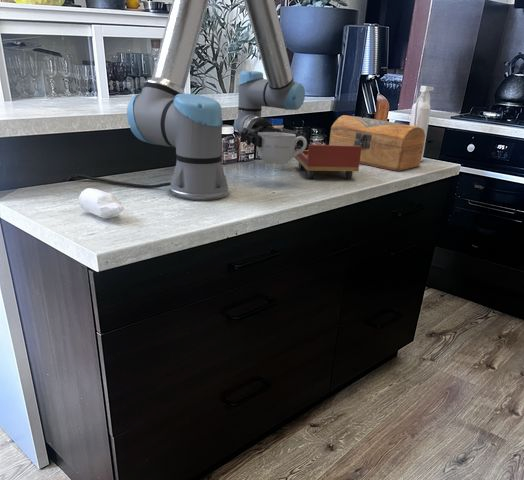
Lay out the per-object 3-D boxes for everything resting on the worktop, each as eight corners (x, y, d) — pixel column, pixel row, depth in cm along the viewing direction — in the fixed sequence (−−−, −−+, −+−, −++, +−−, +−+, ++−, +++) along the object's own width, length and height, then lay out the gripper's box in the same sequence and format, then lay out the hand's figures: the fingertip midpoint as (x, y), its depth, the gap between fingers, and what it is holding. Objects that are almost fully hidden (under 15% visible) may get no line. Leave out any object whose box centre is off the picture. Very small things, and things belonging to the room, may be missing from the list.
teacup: (250, 163, 147) (251, 132, 143) (265, 157, 156) (266, 128, 151) (296, 169, 142) (299, 138, 138) (309, 163, 151) (312, 133, 147)
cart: (306, 180, 158) (309, 145, 153) (293, 167, 174) (296, 134, 169) (356, 181, 161) (361, 146, 155) (339, 168, 177) (343, 135, 171)
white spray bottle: (395, 161, 192) (408, 85, 179) (410, 157, 200) (424, 84, 187) (412, 164, 188) (427, 87, 176) (426, 160, 196) (441, 86, 184)
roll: (109, 226, 112) (107, 200, 109) (79, 213, 119) (76, 188, 116) (133, 221, 116) (131, 196, 113) (102, 209, 123) (99, 185, 120)
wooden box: (324, 157, 192) (329, 116, 184) (350, 152, 202) (356, 113, 195) (395, 172, 174) (403, 128, 167) (420, 166, 185) (428, 124, 178)
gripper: (294, 143, 168) (321, 155, 150) (219, 142, 160) (239, 156, 143) (296, 117, 164) (324, 127, 146) (220, 116, 156) (240, 127, 139)
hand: (282, 142), depth 145 cm, fingers closed on teacup, 12 cm apart
